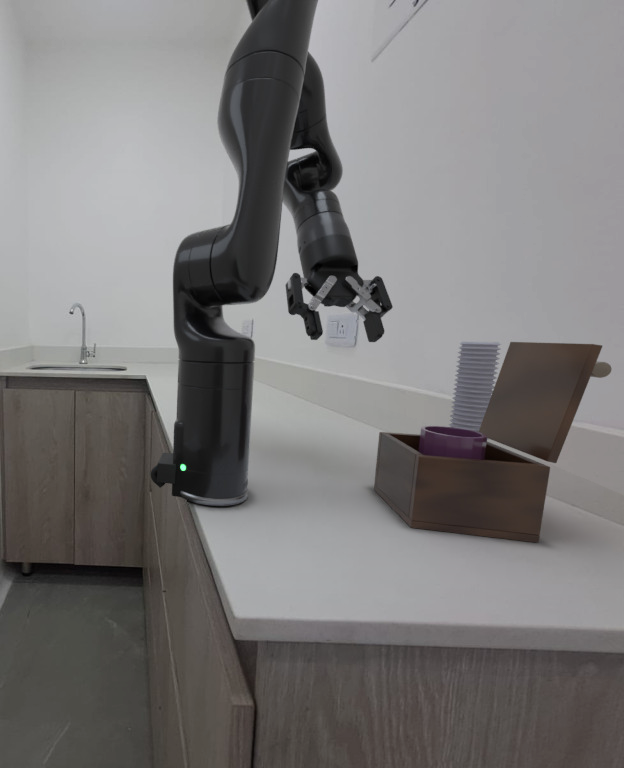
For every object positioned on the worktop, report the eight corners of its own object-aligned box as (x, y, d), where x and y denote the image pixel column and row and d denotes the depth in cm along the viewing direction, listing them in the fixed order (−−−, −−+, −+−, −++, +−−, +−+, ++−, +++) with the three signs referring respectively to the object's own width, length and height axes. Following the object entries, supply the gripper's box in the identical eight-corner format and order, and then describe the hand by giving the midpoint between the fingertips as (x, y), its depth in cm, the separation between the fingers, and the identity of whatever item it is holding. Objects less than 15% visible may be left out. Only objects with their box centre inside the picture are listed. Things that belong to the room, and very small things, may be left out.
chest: (410, 527, 43) (419, 456, 42) (373, 489, 54) (379, 431, 53) (538, 543, 41) (550, 466, 40) (472, 499, 51) (480, 438, 50)
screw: (519, 501, 51) (542, 343, 48) (438, 492, 53) (457, 341, 51) (481, 478, 59) (500, 342, 56) (413, 471, 61) (428, 340, 59)
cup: (426, 513, 45) (436, 435, 44) (404, 493, 51) (412, 424, 50) (488, 520, 44) (500, 439, 43) (458, 499, 49) (467, 427, 48)
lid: (592, 343, 38) (651, 353, 37) (510, 341, 48) (554, 348, 47) (546, 461, 40) (601, 473, 39) (477, 434, 50) (518, 443, 49)
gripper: (291, 230, 60) (310, 322, 54) (384, 234, 60) (414, 326, 54) (271, 264, 67) (286, 349, 61) (355, 267, 67) (379, 352, 61)
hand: (346, 338), depth 57 cm, fingers open, 8 cm apart
